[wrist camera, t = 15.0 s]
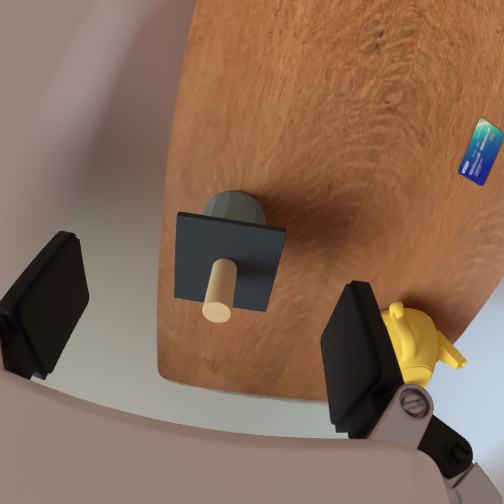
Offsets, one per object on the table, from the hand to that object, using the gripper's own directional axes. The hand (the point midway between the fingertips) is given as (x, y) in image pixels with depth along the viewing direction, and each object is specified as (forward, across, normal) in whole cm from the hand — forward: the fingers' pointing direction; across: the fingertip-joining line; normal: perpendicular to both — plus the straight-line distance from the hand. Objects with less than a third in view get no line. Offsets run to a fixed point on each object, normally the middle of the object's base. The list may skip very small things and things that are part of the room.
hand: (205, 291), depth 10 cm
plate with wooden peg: (+18, 0, +12) cm, 21 cm away
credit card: (+26, -30, -6) cm, 41 cm away
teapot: (+26, -31, +26) cm, 48 cm away
